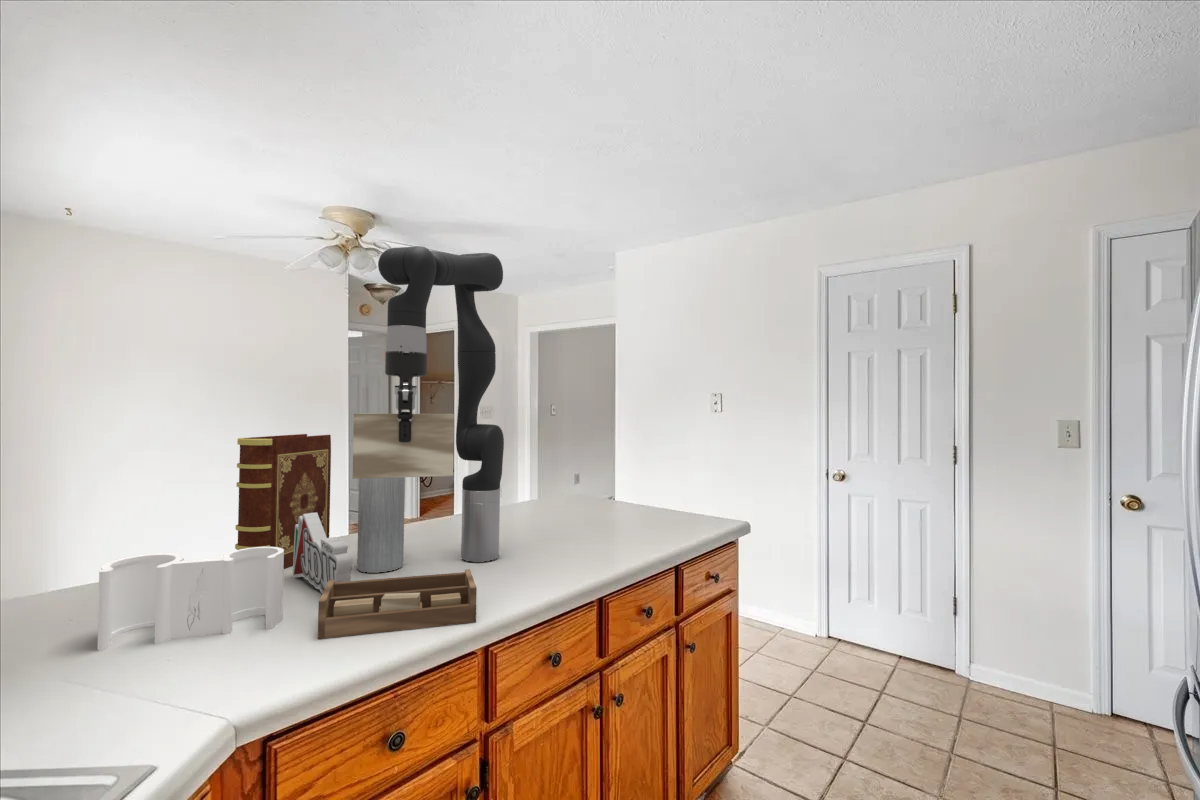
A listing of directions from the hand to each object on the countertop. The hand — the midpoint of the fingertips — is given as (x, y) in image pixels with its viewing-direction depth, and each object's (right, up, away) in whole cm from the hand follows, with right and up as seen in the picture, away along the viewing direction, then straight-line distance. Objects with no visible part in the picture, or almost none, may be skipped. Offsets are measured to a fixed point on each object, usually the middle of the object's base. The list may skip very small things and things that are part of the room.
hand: (404, 441), depth 107 cm
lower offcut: (+3, -31, -10) cm, 33 cm away
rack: (+2, -31, -8) cm, 32 cm away
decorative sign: (-20, -31, +8) cm, 38 cm away
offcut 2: (+10, -31, -8) cm, 34 cm away
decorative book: (-38, -31, +25) cm, 55 cm away
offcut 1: (-4, -31, -13) cm, 34 cm away
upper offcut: (+3, -28, -10) cm, 30 cm away
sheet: (0, -7, 0) cm, 7 cm away
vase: (-14, -31, +23) cm, 41 cm away
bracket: (-30, -31, -14) cm, 45 cm away
